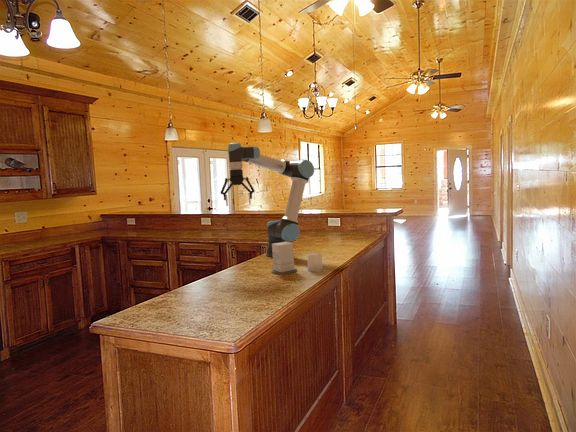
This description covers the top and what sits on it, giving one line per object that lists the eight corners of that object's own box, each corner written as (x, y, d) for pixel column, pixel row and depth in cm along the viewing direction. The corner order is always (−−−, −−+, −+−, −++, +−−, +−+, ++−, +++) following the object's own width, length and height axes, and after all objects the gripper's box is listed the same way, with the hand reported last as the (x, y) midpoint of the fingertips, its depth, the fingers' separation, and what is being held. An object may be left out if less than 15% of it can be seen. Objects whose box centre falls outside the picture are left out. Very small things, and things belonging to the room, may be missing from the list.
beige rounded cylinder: (307, 269, 237) (306, 253, 237) (321, 268, 238) (320, 252, 237) (308, 272, 229) (308, 256, 229) (323, 271, 230) (322, 255, 229)
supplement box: (287, 267, 242) (285, 241, 240) (295, 270, 234) (293, 243, 233) (273, 269, 238) (271, 243, 236) (280, 272, 230) (278, 245, 228)
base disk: (271, 269, 242) (271, 268, 242) (295, 267, 243) (295, 266, 243) (271, 275, 228) (271, 273, 228) (297, 273, 229) (297, 271, 229)
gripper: (214, 170, 249) (216, 206, 251) (257, 168, 250) (259, 204, 252) (215, 170, 256) (218, 205, 258) (257, 168, 257) (259, 203, 259)
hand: (238, 205), depth 255 cm, fingers open, 13 cm apart
